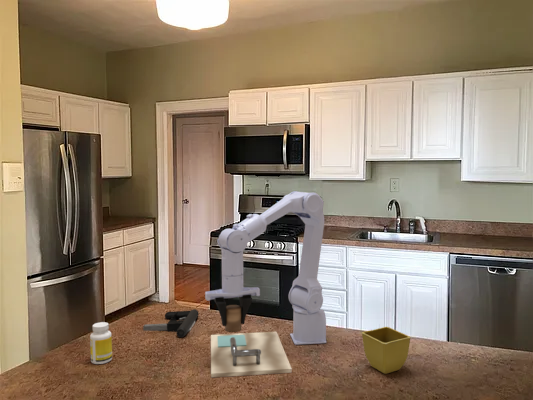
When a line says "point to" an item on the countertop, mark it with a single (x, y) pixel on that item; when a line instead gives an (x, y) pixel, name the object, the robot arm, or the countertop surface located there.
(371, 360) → the flower pot
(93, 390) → the countertop surface
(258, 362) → the bent wire
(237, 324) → the walnut cylinder
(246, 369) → the birch board
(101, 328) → the supplement bottle
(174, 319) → the door handle
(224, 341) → the pad
